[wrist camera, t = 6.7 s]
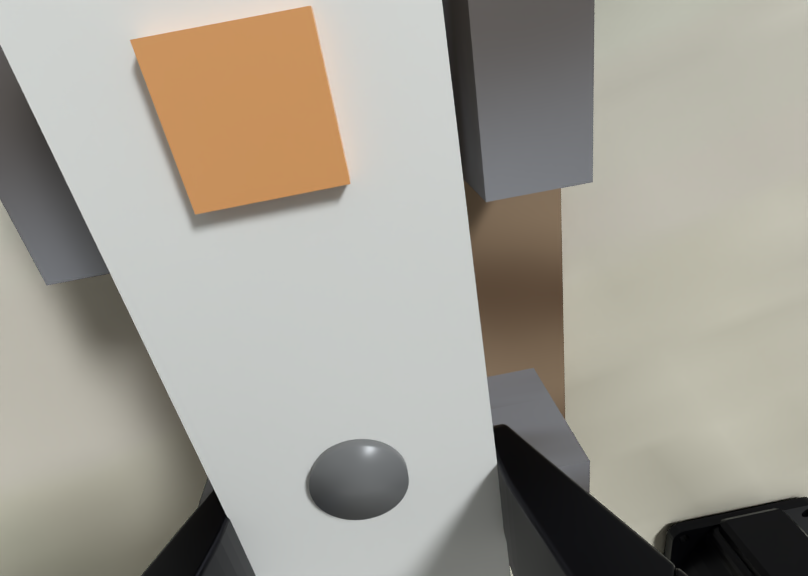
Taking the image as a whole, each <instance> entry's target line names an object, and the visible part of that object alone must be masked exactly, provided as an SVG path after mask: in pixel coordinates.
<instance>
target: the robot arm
mask: <svg viewBox="0 0 808 576" xmlns="http://www.w3.org/2000/svg"><path fill="white" fill-rule="evenodd" d="M493 433H494V441H495V449H496V458H497V469H498V479H499V488H500V498H501V508H502V517H503V527H504V534H505V538H506V541H507V545H508V548H509V552H510V555H511V558H512V561H513V564H514V567H515V570H516V572H517V575H518V576H808V498H807V497H801V498H797V499H792V500H787V501H782V502H777V503H773V504H768V505H763V506H758V507H754V508H749V509H744V510H739V511H734V512H730V513H725V514H720V515H715V516H711V517H706V518H701V519H696V520H691V521H687V522H682V523H678V524H675V525H673V526H672V527H670V529H669V530H668V532H667V537H666V546H665V555H662V554H661V553H660V552H659V551H658V550H656V549H655V548H654V547H653V546H652V545H650V544H649V543H648V542H647V541H646V540H644V539H643V538H642V537H641V536H640V535H638V534H637V533H636V532H635V531H634V530H632V529H631V528H630V527H629V526H628V525H626V524H625V523H624V522H623V521H622V520H620V519H619V518H618V517H617V516H616V515H614V514H613V513H612V512H611V511H610V510H608V509H607V508H606V507H605V506H604V505H602V504H601V503H600V502H599V501H598V500H596V499H595V498H594V497H593V496H592V495H590V494H589V493H588V492H587V491H586V490H584V489H583V488H582V487H581V486H580V485H578V484H577V483H576V482H575V481H574V480H572V479H571V478H570V477H569V476H568V475H566V474H565V473H564V472H563V471H562V470H560V469H559V468H558V467H557V466H556V465H554V464H553V463H552V462H551V461H550V460H548V459H547V458H546V457H545V456H544V455H542V454H541V453H540V452H539V451H538V450H536V449H535V448H534V447H533V446H532V445H530V444H529V443H528V442H527V441H526V440H524V439H523V438H522V437H521V436H520V435H518V434H517V433H516V432H515V431H514V430H512V429H511V428H510V427H509V426H507V425H505V424H499V425H494V426H493ZM141 576H256V575H255V573H254V571H253V568H252V566H251V564H250V562H249V560H248V558H247V555H246V553H245V551H244V549H243V547H242V545H241V542H240V540H239V538H238V536H237V534H236V532H235V529H234V527H233V525H232V523H231V521H230V519H229V518H228V517H227V515H226V513H225V511H224V509H223V507H222V505H221V503H220V501H219V499H218V497H217V495H216V493H215V491H214V489H213V490H212V491H211V493H210V494H209V495H208V496H207V497H206V499H205V500H204V501H203V502H202V503H201V505H200V506H199V507H198V508H197V509H196V510H195V512H194V513H193V514H192V515H191V516H190V518H189V519H188V520H187V521H186V522H185V524H184V525H183V526H182V527H181V528H180V530H179V531H178V532H177V533H176V534H175V536H174V537H173V538H172V539H171V540H170V542H169V543H168V544H167V545H166V546H165V548H164V549H163V550H162V551H161V552H160V554H159V555H158V556H157V557H156V558H155V560H154V561H153V562H152V563H151V564H150V566H149V567H148V568H147V569H146V570H145V571H144V573H143V574H142V575H141Z"/></svg>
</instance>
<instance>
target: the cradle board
mask: <svg viewBox="0 0 808 576" xmlns="http://www.w3.org/2000/svg"><path fill="white" fill-rule="evenodd" d="M442 5H443V14H444V22H445V30H446V39H447V47H448V56H449V64H450V72H451V81H452V89H453V97H454V106H455V114H456V123H457V131H458V139H459V148H460V156H461V165H462V173H463V181H464V190H465V198H466V206H467V215H468V223H469V232H470V240H471V248H472V257H473V265H474V273H475V282H476V290H477V299H478V307H479V315H480V324H481V332H482V340H483V349H484V357H485V366H486V374H487V382H488V391H489V399H490V408H491V416H492V424H493V426H494V425H499V424H505V425H507V426H509V427H510V428H511V429H512V430H514V431H515V432H516V433H517V434H518V435H520V436H521V437H522V438H523V439H524V440H526V441H527V442H528V443H529V444H530V445H532V446H533V447H534V448H535V449H536V450H538V451H539V452H540V453H541V454H542V455H544V456H545V457H546V458H547V459H548V460H550V461H551V462H552V463H553V464H554V465H556V466H557V467H558V468H559V469H560V470H562V471H563V472H564V473H565V474H566V475H568V476H569V477H570V478H571V479H572V480H574V481H575V482H576V483H577V484H578V485H580V486H581V487H582V488H583V489H584V490H586V491H587V492H588V493H589V484H590V460H589V459H588V457H587V455H586V454H585V452H584V450H583V449H582V447H581V446H580V444H579V442H578V441H577V439H576V437H575V436H574V434H573V432H572V431H571V429H570V427H569V426H568V424H567V422H566V421H565V387H564V334H563V282H562V230H561V188H564V187H569V186H574V185H580V184H585V183H590V182H593V85H594V0H442ZM0 200H1V201H2V203H3V205H4V207H5V209H6V211H7V212H8V214H9V216H10V218H11V220H12V222H13V224H14V225H15V227H16V229H17V231H18V233H19V235H20V237H21V238H22V240H23V242H24V244H25V246H26V248H27V250H28V251H29V253H30V255H31V257H32V259H33V261H34V263H35V264H36V266H37V268H38V270H39V272H40V274H41V275H42V277H43V279H44V281H45V283H46V285H51V284H56V283H62V282H67V281H72V280H78V279H83V278H88V277H93V276H99V275H104V274H109V273H110V272H109V270H108V268H107V266H106V264H105V262H104V260H103V257H102V255H101V253H100V251H99V249H98V247H97V245H96V243H95V241H94V239H93V237H92V235H91V233H90V230H89V228H88V226H87V224H86V222H85V220H84V218H83V216H82V214H81V212H80V210H79V208H78V205H77V203H76V201H75V199H74V197H73V195H72V193H71V191H70V189H69V187H68V185H67V183H66V180H65V178H64V176H63V174H62V172H61V170H60V168H59V166H58V164H57V162H56V160H55V158H54V156H53V153H52V151H51V149H50V147H49V145H48V143H47V141H46V139H45V137H44V135H43V133H42V131H41V128H40V126H39V124H38V122H37V120H36V118H35V116H34V114H33V112H32V110H31V108H30V106H29V104H28V101H27V99H26V97H25V95H24V93H23V91H22V89H21V87H20V85H19V83H18V81H17V79H16V76H15V74H14V72H13V70H12V68H11V66H10V64H9V62H8V60H7V58H6V56H5V54H4V51H3V49H2V47H1V45H0ZM213 489H214V488H213V486H212V484H211V482H210V480H209V478H208V479H207V482H206V485H205V488H204V491H203V494H202V497H201V500H200V503H199V506H200V505H201V503H202V502H203V501H204V500H205V499H206V497H207V496H208V495H209V494H210V493H211V491H212V490H213ZM199 506H198V507H199ZM506 542H507V541H506ZM507 550H508V558H509V566H510V567H511V570H512V573H513V576H518V575H517V572H516V570H515V567H514V564H513V561H512V558H511V555H510V552H509V548H508V545H507Z"/></svg>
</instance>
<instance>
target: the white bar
mask: <svg viewBox="0 0 808 576" xmlns="http://www.w3.org/2000/svg"><path fill="white" fill-rule="evenodd" d="M0 45H1V47H2V49H3V51H4V54H5V56H6V58H7V60H8V62H9V64H10V66H11V68H12V70H13V72H14V74H15V76H16V79H17V81H18V83H19V85H20V87H21V89H22V91H23V93H24V95H25V97H26V99H27V101H28V104H29V106H30V108H31V110H32V112H33V114H34V116H35V118H36V120H37V122H38V124H39V126H40V128H41V131H42V133H43V135H44V137H45V139H46V141H47V143H48V145H49V147H50V149H51V151H52V153H53V156H54V158H55V160H56V162H57V164H58V166H59V168H60V170H61V172H62V174H63V176H64V178H65V180H66V183H67V185H68V187H69V189H70V191H71V193H72V195H73V197H74V199H75V201H76V203H77V205H78V208H79V210H80V212H81V214H82V216H83V218H84V220H85V222H86V224H87V226H88V228H89V230H90V233H91V235H92V237H93V239H94V241H95V243H96V245H97V247H98V249H99V251H100V253H101V255H102V257H103V260H104V262H105V264H106V266H107V268H108V270H109V272H110V274H111V276H112V278H113V280H114V282H115V285H116V287H117V289H118V291H119V293H120V295H121V297H122V299H123V301H124V303H125V305H126V307H127V309H128V312H129V314H130V316H131V318H132V320H133V322H134V324H135V326H136V328H137V330H138V332H139V334H140V337H141V339H142V341H143V343H144V345H145V347H146V349H147V351H148V353H149V355H150V357H151V359H152V362H153V364H154V366H155V368H156V370H157V372H158V374H159V376H160V378H161V380H162V382H163V384H164V386H165V389H166V391H167V393H168V395H169V397H170V399H171V401H172V403H173V405H174V407H175V409H176V411H177V414H178V416H179V418H180V420H181V422H182V424H183V426H184V428H185V430H186V432H187V434H188V436H189V438H190V441H191V443H192V445H193V447H194V449H195V451H196V453H197V455H198V457H199V459H200V461H201V463H202V466H203V468H204V470H205V472H206V474H207V476H208V478H209V480H210V482H211V484H212V486H213V488H214V491H215V493H216V495H217V497H218V499H219V501H220V503H221V505H222V507H223V509H224V511H225V513H226V515H227V517H228V518H229V519H230V521H231V523H232V525H233V527H234V529H235V532H236V534H237V536H238V538H239V540H240V542H241V545H242V547H243V549H244V551H245V553H246V555H247V558H248V560H249V562H250V564H251V566H252V568H253V571H254V573H255V575H256V576H511V575H510V567H509V558H508V550H507V542H506V538H505V534H504V527H503V517H502V508H501V498H500V488H499V479H498V469H497V458H496V449H495V441H494V433H493V424H492V416H491V408H490V399H489V391H488V382H487V374H486V366H485V357H484V349H483V340H482V332H481V324H480V315H479V307H478V299H477V290H476V282H475V273H474V265H473V257H472V248H471V240H470V232H469V223H468V215H467V206H466V198H465V190H464V181H463V173H462V165H461V156H460V148H459V139H458V131H457V123H456V114H455V106H454V97H453V89H452V81H451V72H450V64H449V56H448V47H447V39H446V30H445V22H444V14H443V5H442V0H0Z"/></svg>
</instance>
